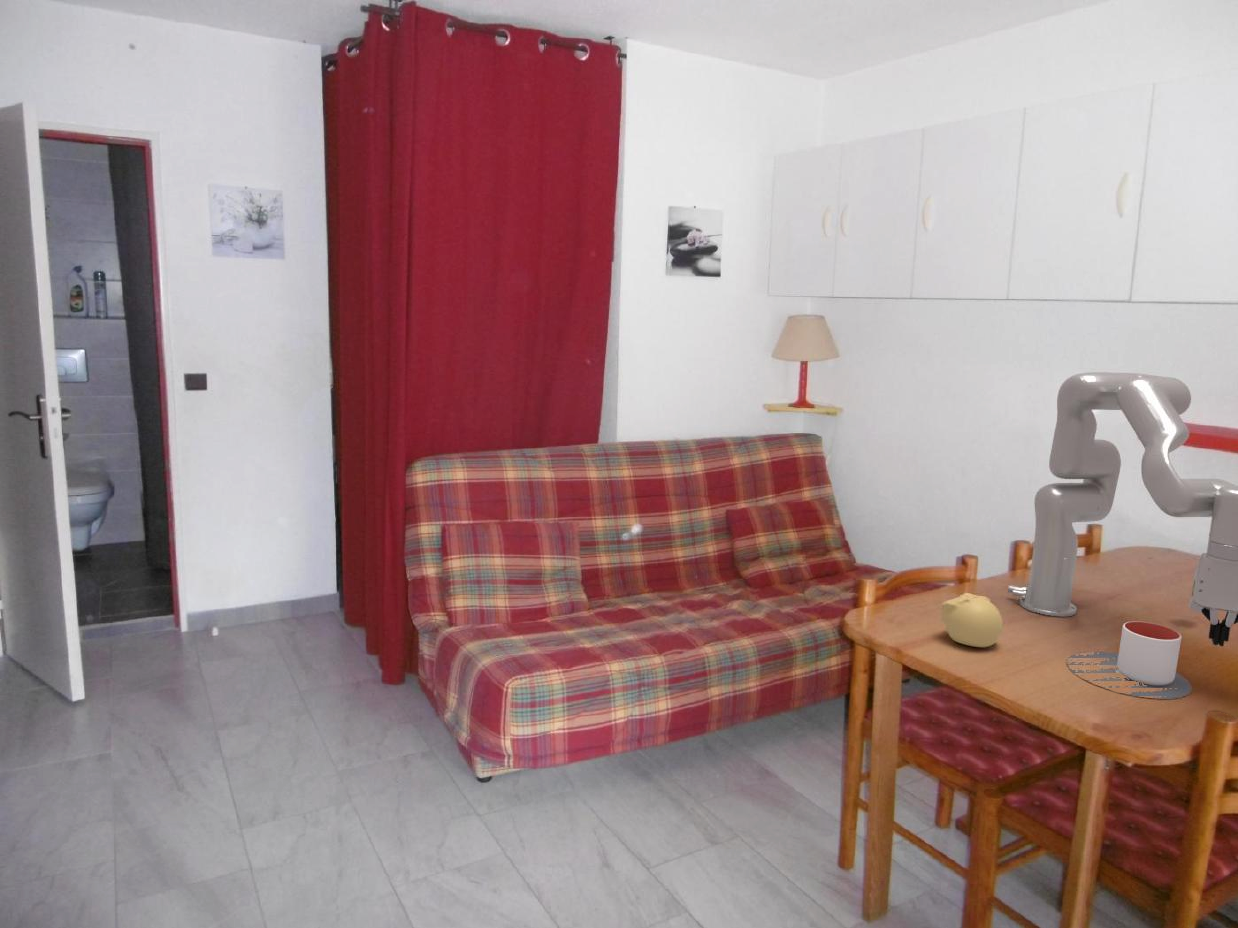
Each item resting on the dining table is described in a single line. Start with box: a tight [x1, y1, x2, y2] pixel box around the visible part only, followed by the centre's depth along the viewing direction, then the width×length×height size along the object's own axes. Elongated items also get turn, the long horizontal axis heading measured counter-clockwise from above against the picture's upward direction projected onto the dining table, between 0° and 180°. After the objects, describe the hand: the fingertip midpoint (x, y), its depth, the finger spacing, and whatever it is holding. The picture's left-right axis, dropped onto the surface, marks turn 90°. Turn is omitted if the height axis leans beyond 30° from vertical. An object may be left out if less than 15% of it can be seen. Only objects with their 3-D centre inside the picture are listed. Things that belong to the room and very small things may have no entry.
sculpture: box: [940, 592, 1004, 648], centre depth 186 cm, size 12×12×11 cm
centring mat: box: [1066, 651, 1192, 700], centre depth 172 cm, size 22×22×1 cm
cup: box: [1117, 620, 1182, 686], centre depth 170 cm, size 10×10×10 cm
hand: (1217, 643), depth 163 cm, fingers closed
